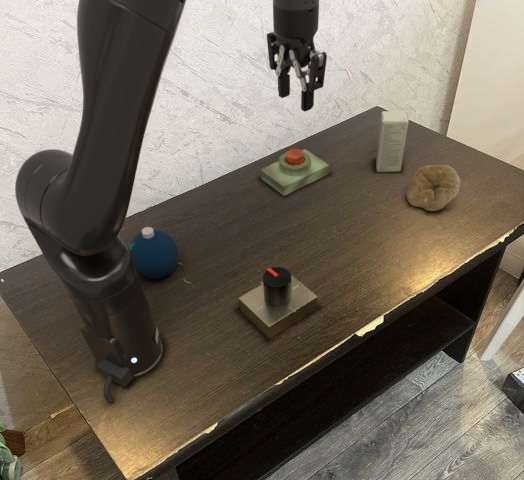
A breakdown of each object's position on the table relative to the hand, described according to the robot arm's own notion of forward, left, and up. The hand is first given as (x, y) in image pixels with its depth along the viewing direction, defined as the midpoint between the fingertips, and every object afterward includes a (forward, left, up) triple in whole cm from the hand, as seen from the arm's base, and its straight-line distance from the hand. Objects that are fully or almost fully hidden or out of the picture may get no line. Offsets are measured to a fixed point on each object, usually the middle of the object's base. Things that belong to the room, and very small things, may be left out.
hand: (295, 102), depth 94 cm
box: (+12, -16, -16) cm, 25 cm away
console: (-35, -15, -16) cm, 41 cm away
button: (0, 0, -12) cm, 12 cm away
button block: (0, 0, -16) cm, 16 cm away
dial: (-35, -15, -13) cm, 40 cm away
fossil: (+4, -28, -16) cm, 32 cm away
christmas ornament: (-37, +8, -16) cm, 41 cm away
